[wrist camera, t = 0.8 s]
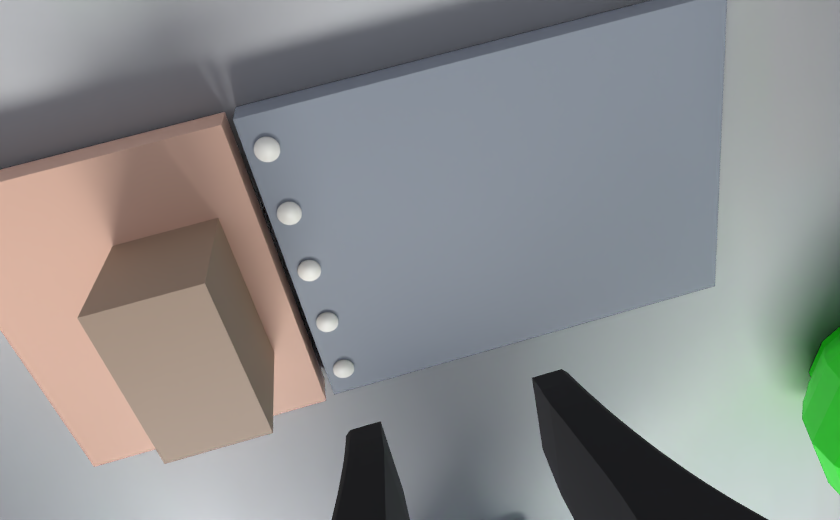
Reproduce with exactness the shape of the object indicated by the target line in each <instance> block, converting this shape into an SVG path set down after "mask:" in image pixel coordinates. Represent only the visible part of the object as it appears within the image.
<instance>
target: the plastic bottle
mask: <svg viewBox="0 0 840 520" xmlns="http://www.w3.org/2000/svg"><path fill="white" fill-rule="evenodd" d="M809 374H810V377H811V379H810V381H809V383H808V387H807V392H806V395H805V398H804V401H803V411H802V419H803V422H804V424H805V427H806V429H807V432H808V434H809V436H810V439H811V441H812V444H813V446H814V449H815V451H816V454H817V456H818V458H819V461H820V463H821V466H822V468H823V471H824V473H825V475H826V478H827V480H828V483H829V484H830V485H831V486H832V487H833V488H834V489H835V490H836V491H837V492H838V493H839V495H840V327H839V328H838V329H836V330H835V331H834V332H833V333H832V334H831V335H829V336H828V337H827V338H826V339H825V340H824V341H823V342H822V344H821V346H820V348H819V350H818V353H817V355H816V357H815V359H814V362H813V364H812V366H811V369H810V371H809Z"/></svg>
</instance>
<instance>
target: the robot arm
mask: <svg viewBox="0 0 840 520" xmlns="http://www.w3.org/2000/svg"><path fill="white" fill-rule="evenodd" d="M532 380H533V387H534V393H535V400H536V407H537V413H538V420H539V427H540V434H541V440H542V447H543V451H544V453H545V456H546V458H547V461H548V463H549V466H550V468H551V471H552V473H553V476H554V478H555V481H556V483H557V486H558V488H559V490H560V493H561V495H562V497H563V499H564V501H565V503H566V505H567V507H568V509H569V510H570V512H571V514H572V516H573V518H574V520H768V519H766V518H764V517H762V516H761V515H759V514H757V513H755V512H754V511H752V510H750V509H748V508H747V507H745V506H743V505H741V504H740V503H738V502H736V501H734V500H733V499H731V498H729V497H728V496H726V495H725V494H723V493H721V492H720V491H718V490H716V489H715V488H713V487H712V486H710V485H708V484H707V483H705V482H704V481H702V480H701V479H699V478H698V477H696V476H695V475H693V474H692V473H690V472H689V471H687V470H686V469H684V468H683V467H681V466H680V465H679V464H677V463H676V462H674V461H673V460H672V459H670V458H669V457H667V456H666V455H665V454H663V453H662V452H660V451H659V450H658V449H656V448H655V447H654V446H652V445H651V444H650V443H648V442H647V441H646V440H645V439H643V438H642V437H641V436H640V435H638V434H637V433H636V432H634V431H633V430H632V429H631V428H629V427H628V426H627V425H626V424H624V423H623V422H622V421H621V420H619V419H618V418H617V417H616V416H615V415H613V414H612V413H611V412H610V411H609V410H608V409H606V408H605V407H604V406H603V405H602V404H601V403H600V402H598V401H597V400H596V399H595V398H594V397H593V396H592V395H591V394H589V393H588V392H587V391H586V390H585V389H584V388H583V387H582V386H581V385H580V384H579V383H578V382H577V381H576V380H575V379H574V378H573V377H571V376H570V375H569V374H568V373H567V372H566V371H564V370H562V369H561V370H557V371H554V372H550V373H547V374H544V375H540V376H537V377H533V378H532ZM332 520H410V518H409V514H408V510H407V505H406V501H405V496H404V492H403V488H402V485H401V482H400V479H399V476H398V473H397V470H396V467H395V464H394V461H393V458H392V455H391V452H390V449H389V446H388V443H387V440H386V437H385V434H384V430H383V427H382V424H381V422H377V423H374V424H370V425H367V426H363V427H360V428H356V429H353V430H350V431H349V433H348V434H347V436H346V447H345V455H344V463H343V469H342V475H341V480H340V485H339V490H338V495H337V499H336V504H335V508H334V512H333V516H332Z"/></svg>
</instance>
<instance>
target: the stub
mask: <svg viewBox="0 0 840 520" xmlns="http://www.w3.org/2000/svg"><path fill="white" fill-rule="evenodd" d="M0 330H1V332H2V333H3V335H4V336H5V337H6V339H7V340H8V342H9V343H10V345H11V346H12V348H13V349H14V351H15V352H16V353H17V355H18V356H19V358H20V359H21V361H22V362H23V364H24V365H25V367H26V368H27V370H28V371H29V372H30V374H31V375H32V377H33V378H34V380H35V381H36V383H37V384H38V386H39V387H40V389H41V390H42V391H43V393H44V394H45V396H46V397H47V399H48V400H49V402H50V403H51V405H52V406H53V407H54V409H55V410H56V412H57V413H58V415H59V416H60V418H61V419H62V421H63V422H64V424H65V425H66V426H67V428H68V429H69V431H70V432H71V434H72V435H73V437H74V438H75V440H76V441H77V443H78V444H79V445H80V447H81V448H82V450H83V451H84V453H85V454H86V456H87V457H88V459H89V460H90V461H91V463H92V464H93V466H94V467H95V466H99V465H102V464H106V463H109V462H113V461H116V460H120V459H123V458H127V457H130V456H134V455H137V454H141V453H144V452H148V451H151V450H155V449H156V450H157V452H158V454H159V455H160V457H161V459H162V460H163V462H164V464H166V463H170V462H173V461H177V460H180V459H183V458H187V457H190V456H194V455H197V454H201V453H204V452H208V451H211V450H215V449H218V448H222V447H225V446H229V445H232V444H236V443H239V442H243V441H246V440H250V439H253V438H257V437H260V436H264V435H267V434H271V433H273V416H274V415H278V414H281V413H285V412H288V411H292V410H295V409H299V408H302V407H306V406H309V405H313V404H316V403H320V402H323V401H326V394H325V382H324V377H323V374H322V371H321V368H320V366H319V363H318V360H317V358H316V355H315V352H314V350H313V347H312V344H311V342H310V339H309V336H308V334H307V331H306V328H305V326H304V323H303V320H302V318H301V315H300V312H299V309H298V307H297V304H296V301H295V299H294V296H293V293H292V291H291V288H290V285H289V283H288V280H287V277H286V275H285V272H284V269H283V267H282V264H281V261H280V259H279V256H278V253H277V251H276V248H275V245H274V242H273V240H272V237H271V234H270V232H269V229H268V226H267V224H266V221H265V218H264V216H263V213H262V210H261V208H260V205H259V202H258V200H257V197H256V194H255V192H254V189H253V186H252V184H251V181H250V178H249V175H248V173H247V170H246V167H245V165H244V162H243V159H242V157H241V154H240V151H239V149H238V146H237V143H236V141H235V138H234V135H233V133H232V130H231V127H230V125H229V122H228V119H227V117H226V114H225V112H222V113H218V114H215V115H211V116H207V117H203V118H199V119H195V120H191V121H187V122H183V123H180V124H176V125H172V126H168V127H164V128H160V129H156V130H152V131H149V132H145V133H141V134H137V135H133V136H129V137H125V138H121V139H117V140H114V141H110V142H106V143H102V144H98V145H94V146H90V147H86V148H82V149H79V150H75V151H71V152H67V153H63V154H59V155H55V156H51V157H47V158H44V159H40V160H36V161H32V162H28V163H24V164H20V165H16V166H12V167H9V168H5V169H1V170H0Z"/></svg>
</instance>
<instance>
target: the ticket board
mask: <svg viewBox="0 0 840 520" xmlns="http://www.w3.org/2000/svg"><path fill="white" fill-rule="evenodd" d="M726 12H727V0H651V1H647V2H643V3H639V4H635V5H631V6H627V7H623V8H620V9H616V10H612V11H608V12H604V13H600V14H596V15H592V16H588V17H585V18H581V19H577V20H573V21H569V22H565V23H561V24H557V25H553V26H550V27H546V28H542V29H538V30H534V31H530V32H526V33H522V34H518V35H515V36H511V37H507V38H503V39H499V40H495V41H491V42H487V43H483V44H480V45H476V46H472V47H468V48H464V49H460V50H456V51H452V52H448V53H445V54H441V55H437V56H433V57H429V58H425V59H421V60H417V61H413V62H410V63H406V64H402V65H398V66H394V67H390V68H386V69H382V70H378V71H375V72H371V73H367V74H363V75H359V76H355V77H351V78H347V79H343V80H340V81H336V82H332V83H328V84H324V85H320V86H316V87H312V88H308V89H305V90H301V91H297V92H293V93H289V94H285V95H281V96H277V97H273V98H269V99H266V100H262V101H258V102H254V103H250V104H246V105H242V106H238V107H236V108H235V113H234V117H233V121H234V124H235V127H236V130H237V132H238V135H239V138H240V140H241V143H242V146H243V149H244V151H245V154H246V157H247V159H248V162H249V165H250V167H251V170H252V173H253V176H254V178H255V181H256V184H257V186H258V189H259V192H260V195H261V197H262V200H263V203H264V205H265V208H266V211H267V214H268V216H269V219H270V222H271V224H272V227H273V230H274V233H275V235H276V238H277V241H278V243H279V246H280V249H281V252H282V254H283V257H284V260H285V262H286V265H287V268H288V271H289V273H290V276H291V279H292V281H293V284H294V287H295V290H296V292H297V295H298V298H299V300H300V303H301V306H302V309H303V311H304V314H305V317H306V319H307V322H308V325H309V328H310V330H311V333H312V336H313V338H314V341H315V344H316V346H317V349H318V352H319V355H320V357H321V360H322V363H323V365H324V368H325V371H326V374H327V376H328V379H329V382H330V384H331V387H332V390H333V393H334V394H337V393H341V392H344V391H348V390H351V389H355V388H359V387H362V386H366V385H369V384H373V383H376V382H380V381H383V380H387V379H390V378H394V377H397V376H401V375H404V374H408V373H411V372H415V371H418V370H422V369H425V368H429V367H432V366H436V365H439V364H443V363H446V362H450V361H453V360H457V359H460V358H464V357H467V356H471V355H474V354H478V353H481V352H485V351H488V350H492V349H495V348H499V347H502V346H506V345H510V344H513V343H517V342H520V341H524V340H527V339H531V338H534V337H538V336H541V335H545V334H548V333H552V332H555V331H559V330H562V329H566V328H569V327H573V326H576V325H580V324H583V323H587V322H590V321H594V320H597V319H601V318H604V317H608V316H611V315H615V314H618V313H622V312H625V311H629V310H632V309H636V308H639V307H643V306H646V305H650V304H654V303H657V302H661V301H664V300H668V299H671V298H675V297H678V296H682V295H685V294H689V293H692V292H696V291H699V290H703V289H706V288H710V287H713V286H715V272H716V248H717V224H718V201H719V177H720V154H721V130H722V106H723V83H724V59H725V35H726Z"/></svg>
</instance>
